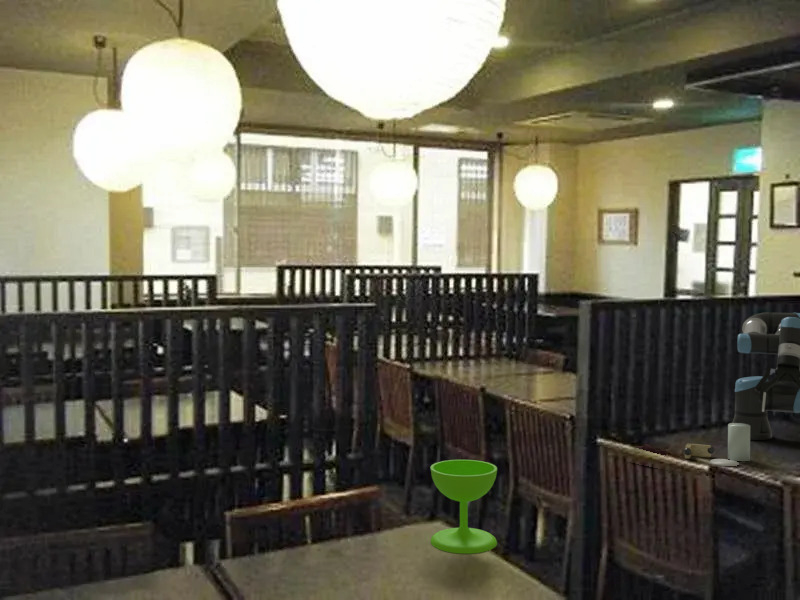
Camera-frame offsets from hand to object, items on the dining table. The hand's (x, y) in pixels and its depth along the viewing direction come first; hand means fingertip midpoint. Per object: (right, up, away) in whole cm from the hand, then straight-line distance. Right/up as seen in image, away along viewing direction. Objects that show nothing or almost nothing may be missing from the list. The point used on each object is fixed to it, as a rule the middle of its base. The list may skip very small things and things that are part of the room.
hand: (784, 413), depth 276 cm
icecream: (-53, -15, -12) cm, 56 cm away
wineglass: (-120, -18, -87) cm, 150 cm away
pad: (-26, -15, -12) cm, 33 cm away
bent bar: (-32, -15, -4) cm, 35 cm away
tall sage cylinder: (-19, -15, -7) cm, 25 cm away
